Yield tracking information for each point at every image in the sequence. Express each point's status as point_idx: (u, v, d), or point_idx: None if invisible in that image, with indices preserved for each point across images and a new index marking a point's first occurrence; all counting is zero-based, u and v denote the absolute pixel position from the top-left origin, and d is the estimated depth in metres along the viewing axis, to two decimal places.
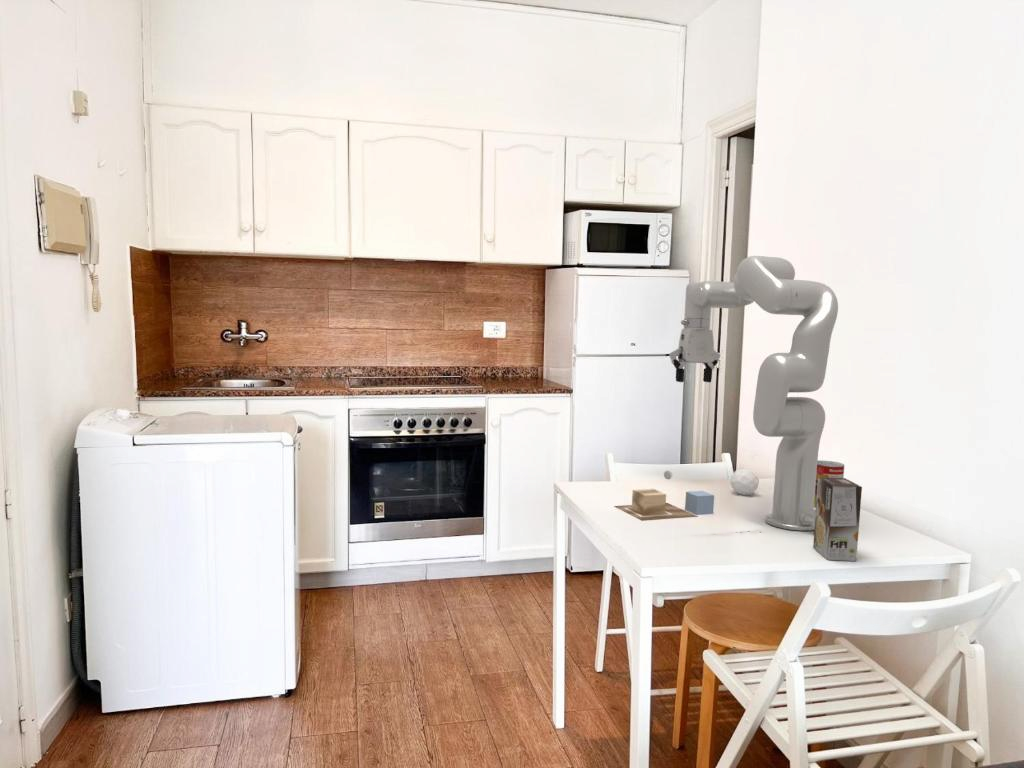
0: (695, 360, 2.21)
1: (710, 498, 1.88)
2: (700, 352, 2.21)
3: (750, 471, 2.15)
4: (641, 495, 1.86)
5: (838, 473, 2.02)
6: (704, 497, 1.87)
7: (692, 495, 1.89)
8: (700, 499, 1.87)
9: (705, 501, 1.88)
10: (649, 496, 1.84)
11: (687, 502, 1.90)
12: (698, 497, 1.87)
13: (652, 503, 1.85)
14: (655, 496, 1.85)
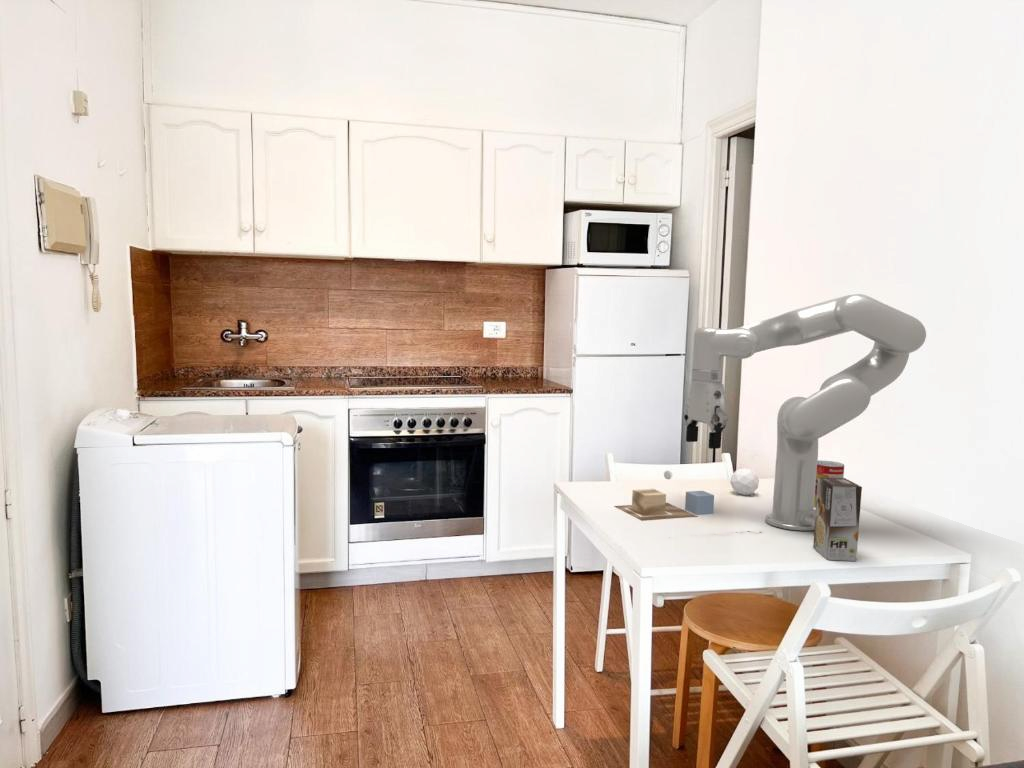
0: None
1: (710, 498, 1.88)
2: None
3: (750, 471, 2.15)
4: (641, 495, 1.86)
5: (838, 473, 2.02)
6: (704, 496, 1.87)
7: (692, 495, 1.89)
8: (700, 499, 1.87)
9: (705, 501, 1.88)
10: (649, 496, 1.84)
11: (687, 502, 1.90)
12: (698, 497, 1.87)
13: (652, 503, 1.85)
14: (655, 496, 1.85)
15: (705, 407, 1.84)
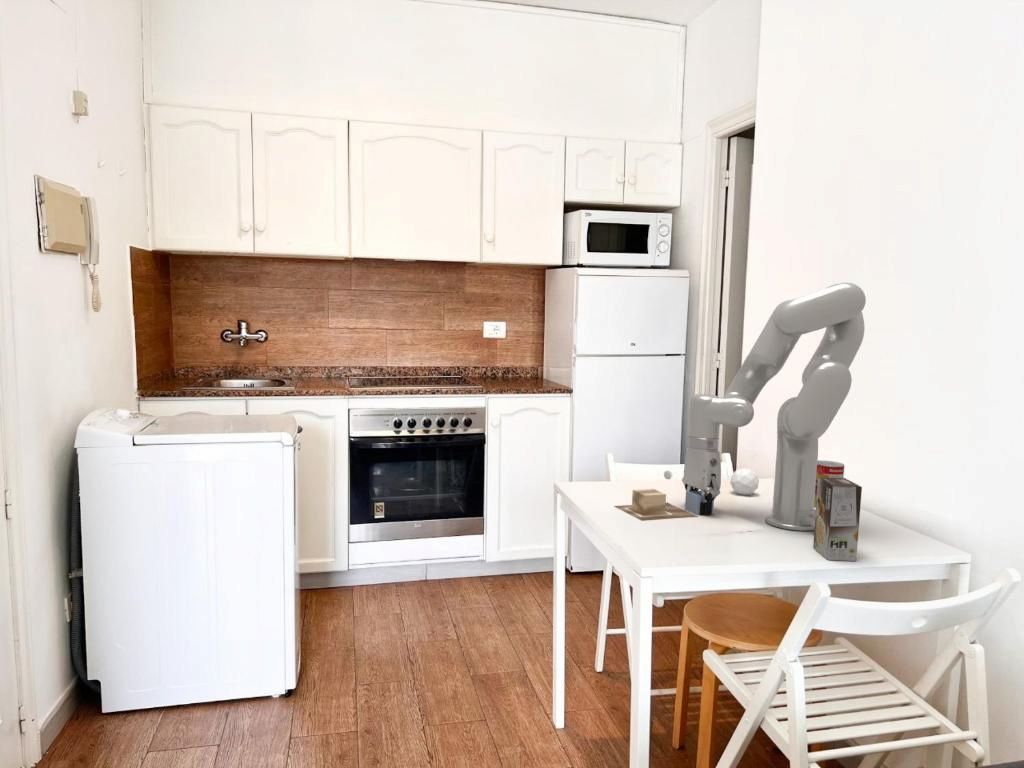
0: None
1: None
2: None
3: (750, 471, 2.15)
4: (641, 495, 1.86)
5: (838, 473, 2.02)
6: None
7: (692, 495, 1.89)
8: (700, 499, 1.87)
9: None
10: (649, 496, 1.84)
11: (687, 502, 1.90)
12: (698, 497, 1.87)
13: (652, 503, 1.85)
14: (655, 496, 1.85)
15: (701, 474, 1.85)
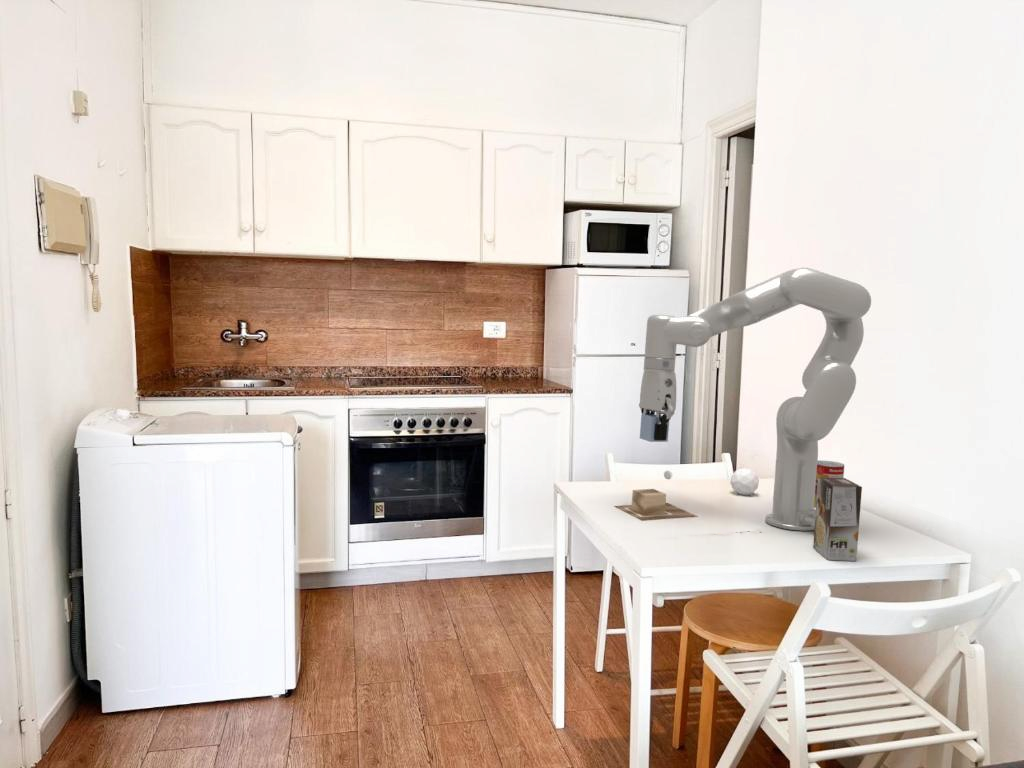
0: None
1: None
2: None
3: (750, 471, 2.15)
4: (641, 495, 1.86)
5: (838, 473, 2.02)
6: None
7: (647, 417, 1.85)
8: (654, 420, 1.83)
9: None
10: (649, 496, 1.84)
11: (642, 425, 1.87)
12: (652, 418, 1.83)
13: (652, 503, 1.85)
14: (655, 496, 1.85)
15: (656, 395, 1.82)
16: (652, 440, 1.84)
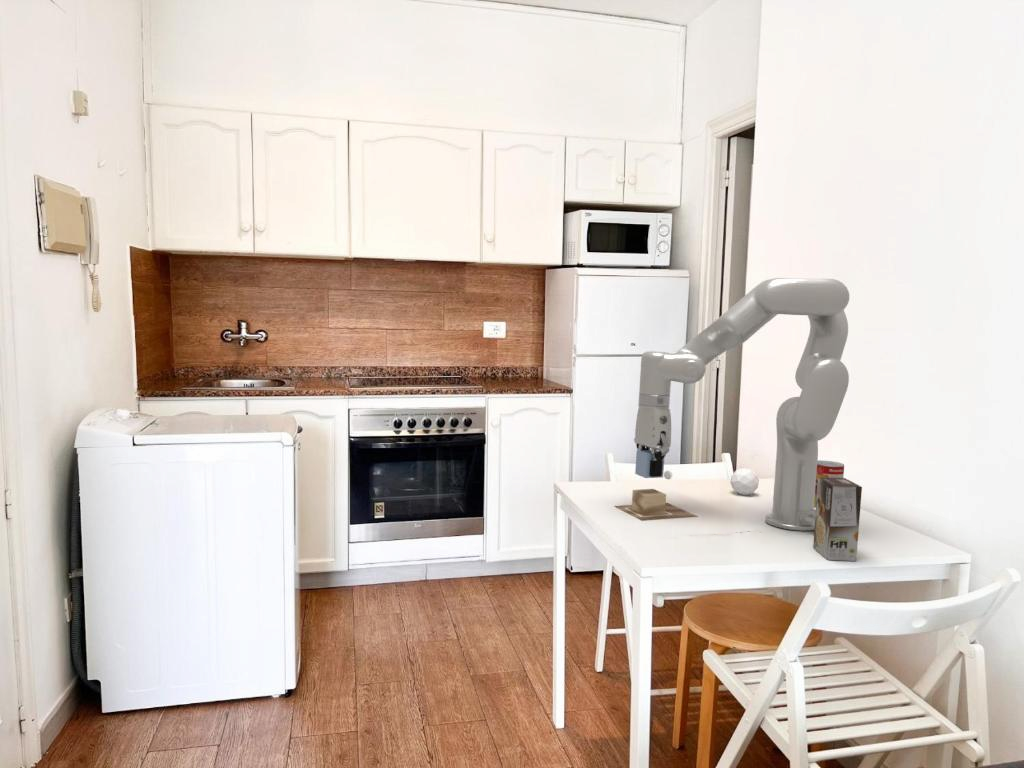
0: None
1: None
2: None
3: (750, 471, 2.15)
4: (641, 495, 1.86)
5: (838, 473, 2.02)
6: None
7: (642, 453, 1.86)
8: (650, 457, 1.84)
9: None
10: (649, 496, 1.84)
11: (638, 461, 1.88)
12: (648, 455, 1.84)
13: (652, 503, 1.85)
14: (655, 496, 1.85)
15: (651, 432, 1.83)
16: (647, 476, 1.84)
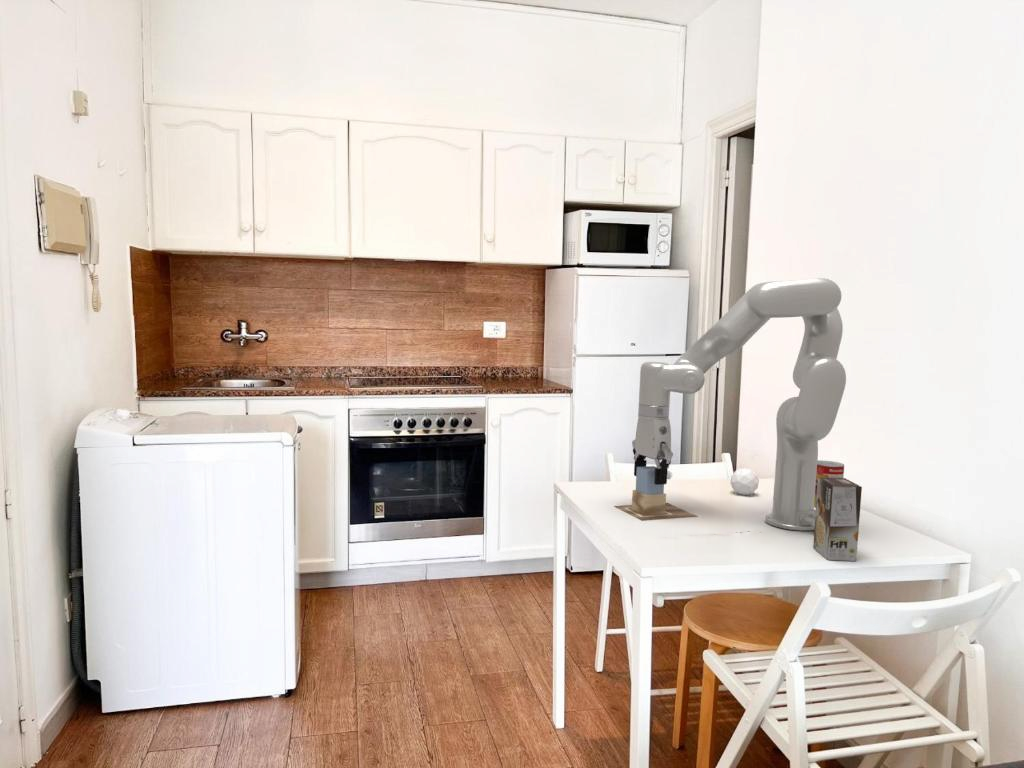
0: None
1: None
2: None
3: (750, 471, 2.15)
4: (641, 495, 1.86)
5: (838, 473, 2.02)
6: (654, 471, 1.85)
7: (642, 470, 1.86)
8: (650, 474, 1.84)
9: None
10: (649, 496, 1.84)
11: (638, 477, 1.88)
12: (648, 472, 1.84)
13: (652, 503, 1.85)
14: (655, 496, 1.85)
15: (651, 443, 1.83)
16: (648, 493, 1.85)
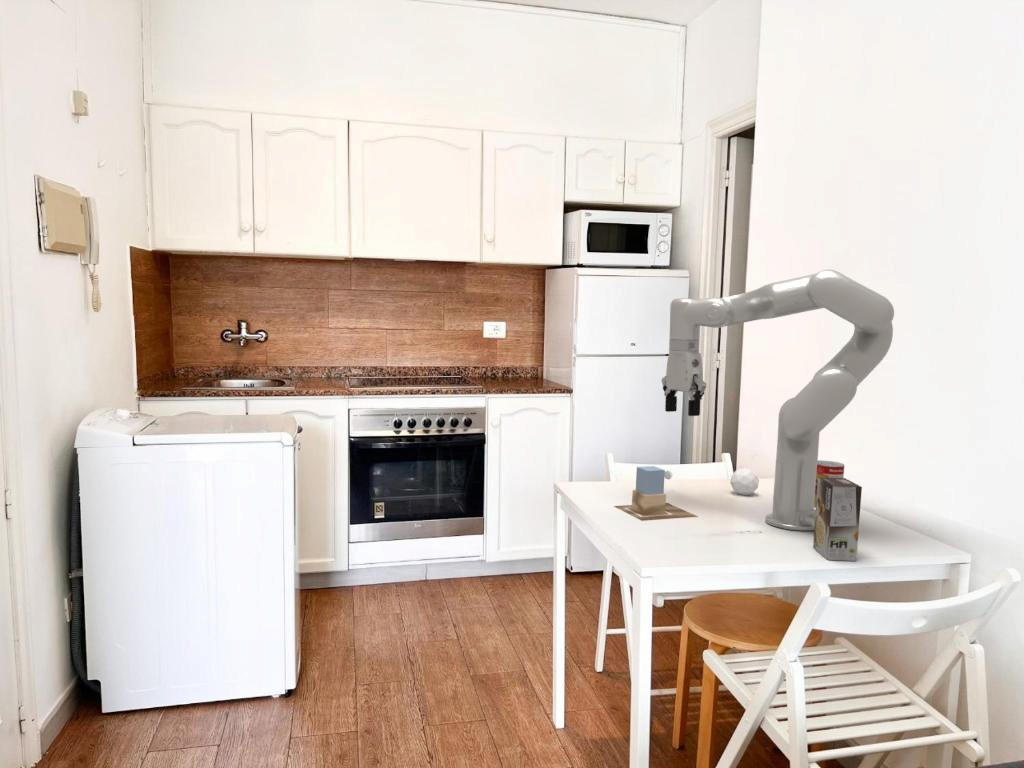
0: None
1: (660, 473, 1.85)
2: None
3: (750, 471, 2.15)
4: (641, 495, 1.86)
5: (838, 473, 2.02)
6: (654, 471, 1.85)
7: (642, 470, 1.86)
8: (650, 474, 1.84)
9: (655, 476, 1.85)
10: (649, 496, 1.84)
11: (638, 477, 1.88)
12: (648, 472, 1.84)
13: (652, 503, 1.85)
14: (655, 496, 1.85)
15: (684, 376, 1.89)
16: (648, 493, 1.85)
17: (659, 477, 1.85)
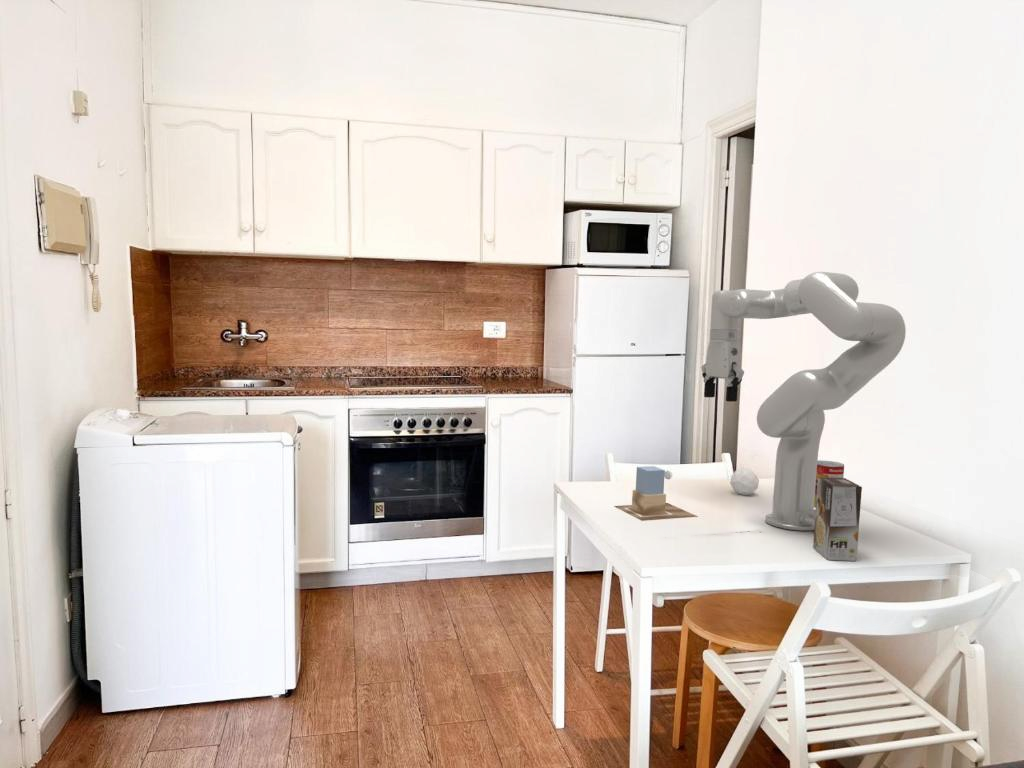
0: None
1: (660, 473, 1.85)
2: None
3: (750, 471, 2.15)
4: (641, 495, 1.86)
5: (838, 473, 2.02)
6: (654, 471, 1.85)
7: (642, 470, 1.86)
8: (650, 474, 1.84)
9: (655, 476, 1.85)
10: (649, 496, 1.84)
11: (638, 477, 1.88)
12: (648, 472, 1.84)
13: (652, 503, 1.85)
14: (655, 496, 1.85)
15: (723, 363, 2.00)
16: (648, 493, 1.85)
17: (659, 477, 1.85)
